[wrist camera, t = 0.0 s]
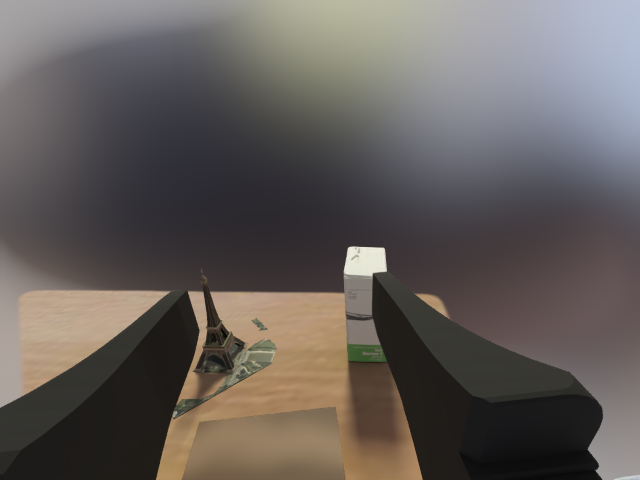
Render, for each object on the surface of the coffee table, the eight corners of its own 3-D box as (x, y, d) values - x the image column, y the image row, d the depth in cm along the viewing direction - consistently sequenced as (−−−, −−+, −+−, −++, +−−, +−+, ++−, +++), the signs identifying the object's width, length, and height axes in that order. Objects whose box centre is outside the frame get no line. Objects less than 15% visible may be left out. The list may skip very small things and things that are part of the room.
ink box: (387, 364, 38) (389, 277, 33) (346, 361, 39) (342, 277, 34) (384, 319, 46) (385, 244, 41) (350, 318, 47) (347, 245, 42)
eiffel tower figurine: (173, 425, 33) (136, 318, 28) (150, 370, 40) (118, 278, 35) (293, 354, 41) (281, 262, 36) (256, 320, 49) (241, 240, 44)
